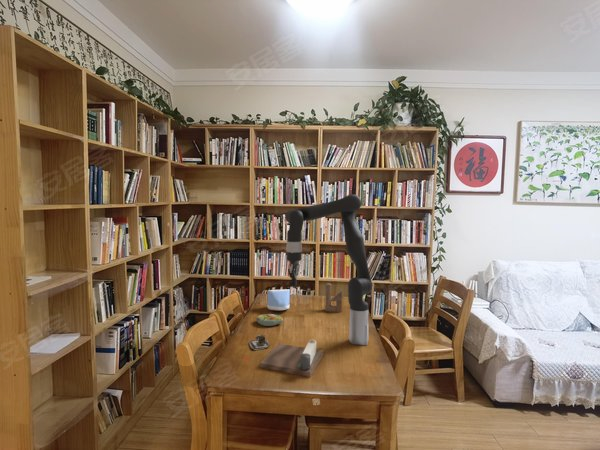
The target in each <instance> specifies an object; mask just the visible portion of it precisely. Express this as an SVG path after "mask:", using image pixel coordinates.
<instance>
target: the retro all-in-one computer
mask: <svg viewBox="0 0 600 450" xmlns="http://www.w3.org/2000/svg"><path fill="white" fill-rule="evenodd" d="M290 294H291V289H289V288H288V289H287V288H285V289H271V290H270V289H268V290H267V304H266V305H267V309H268V310H270V311H285V310H289V309H290V296H291V295H290Z"/></svg>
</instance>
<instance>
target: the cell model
mask: <svg viewBox="0 0 600 450" xmlns="http://www.w3.org/2000/svg"><path fill="white" fill-rule="evenodd" d="M256 322H257V324H259V325H261V326H265V327H274V326H277V325H280V324H282V323H283V322H284V319H283V317H281V315H279V314H272V313H265V314H260V315H258V316H256Z"/></svg>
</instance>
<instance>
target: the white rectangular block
mask: <svg viewBox="0 0 600 450" xmlns="http://www.w3.org/2000/svg"><path fill="white" fill-rule="evenodd" d="M304 348H305V350H304V352H303V354H301V362H300V368H301V369H302V370H309V369H310V365H311V363H312V361H313V358H314V356H315V354H316V349H317V340H315V338H310V339H309V340H308V342H307V344H306V346H305V347H304Z"/></svg>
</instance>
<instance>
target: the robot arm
mask: <svg viewBox="0 0 600 450" xmlns="http://www.w3.org/2000/svg"><path fill="white" fill-rule="evenodd" d="M361 207H362V199H361V197H359V195H356V194H354V193H352V194H348V195H346V196H344V197H342V198H340V199H335V200H333V201H328V202H323V203H318V204H314V205H309V206H306V207H302V208H301V207H300V208H294V209H290V210H288V211H287V212H286V214H285V217H284V218H285V221H286V222H287V223H289V225H288V226H289V228H288V230H287V231H286V232H287V233H286V247H285V248H286V261H288V262H289V264H288V267H289V268H288V269H287V272H288V275H289V278H290V279H291V283H290V284H291V286H292V287H296V286H297V283H298V282H297V278H298V276H299V272H300V264H299V262H300V261H302V258H303V256H302V255H303V248H302V247H303V246H302V231H303V225H304V222H305V221H315V220H318V219H322V218H325V217H328V216H331V215H334V214H339V213H340V216H341V219H342V224H343V232H344V239H345V246H346V253H347V255H348V256H349V258H350V260H351V261H352V263H353V264H354V267H355V268H356V272H357V276H356V277H351V278H350V279H349V281H348V284H347V296H348V299H347V300H348V303H349V335H348V337H349V339H348V340H349V343H350V344H352V345H356V346H357V345H358V346H368V344H369V330H370V329H369V327H370V326H369V325H370V323H369V303H368V302H367V301H364V300H363V295H368V294H370V293H371V292H372V290H373V282H372V278H371V275H370V274H371V273H370V270H369V266H368V260H367V254H366V245H365V240H364V239H365V238H364V236H363V234H362V231H361V230H360V227H358V224H357V219H356V212H357V211H359V209H361Z"/></svg>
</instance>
